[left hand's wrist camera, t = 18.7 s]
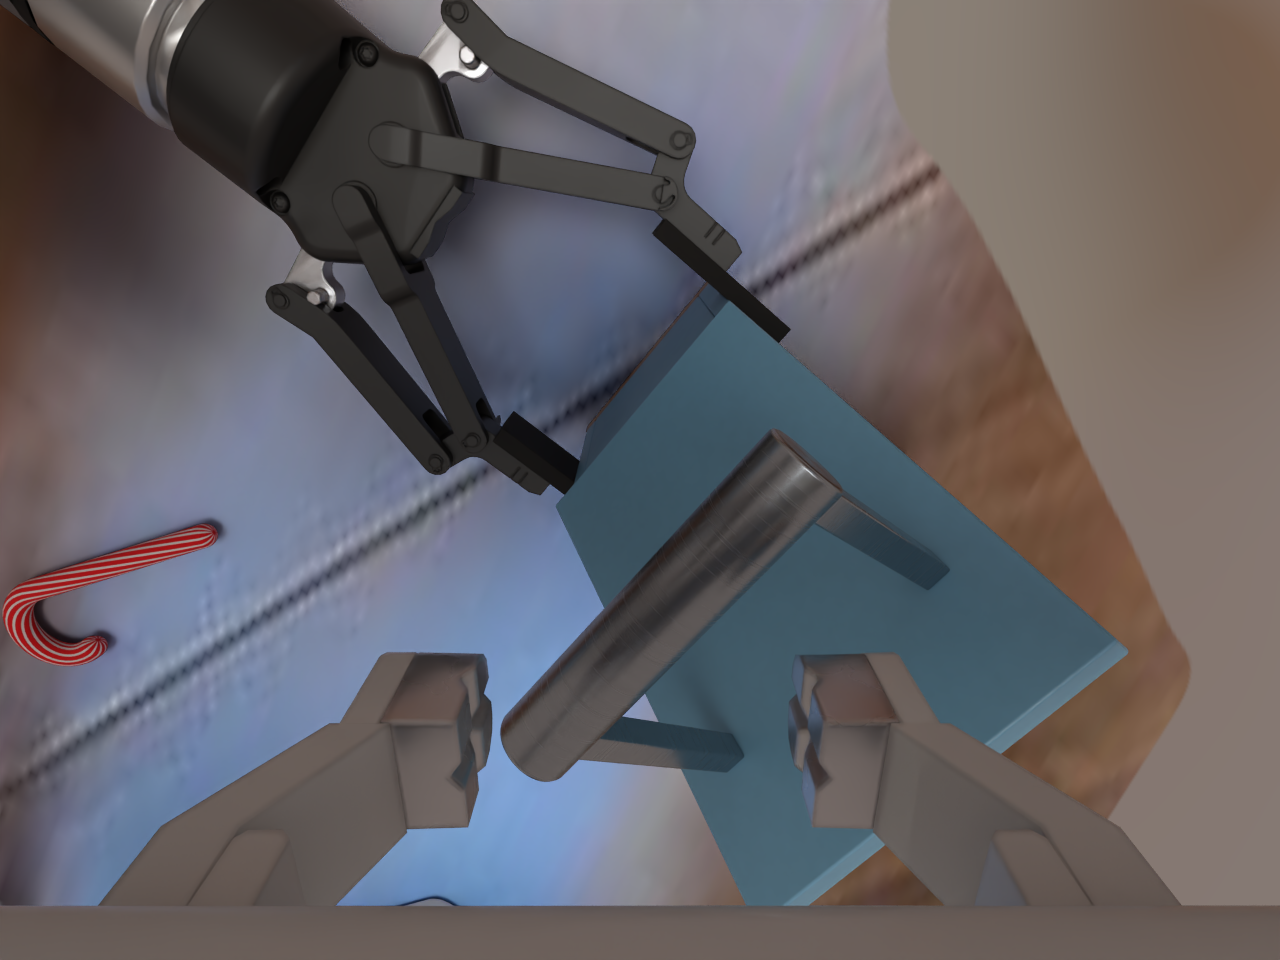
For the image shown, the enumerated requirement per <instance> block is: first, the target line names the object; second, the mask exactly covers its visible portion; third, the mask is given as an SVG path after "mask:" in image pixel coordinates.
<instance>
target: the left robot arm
mask: <svg viewBox="0 0 1280 960" xmlns="http://www.w3.org/2000/svg"><path fill="white" fill-rule="evenodd" d="M488 678H489V675H488V668H487V660H486V658H485V656H484V654H467V653H416V652H387V653H385V654H383V655H381V656H380V657H379V658H378V660H377V662H376V663H375V665H374V667H373V668H372V670H371V672H370V673H369V675H368V677H367V678H366V680H365V682H364V683H363V685H362V687H361V688H360V690H359V692H358V693H357V695H356V697H355V698H354V700H353V702H352V703H351V705H350V707H349V708H348V710H347V712H346V713H345V715H344V717H343V718H342V720H341V722H340V723H329V724H328V725H326V726H324V727H323V728H321V729H320V730H318V731H316V732H315V733H313V734H311V735H310V736H308V737H306V738H305V739H303V740H302V741H300V742H298V743H297V744H295V745H293V746H292V747H290V748H288V749H287V750H285V751H283V752H282V753H280V754H279V755H277V756H275V757H274V758H272V759H270V760H269V761H267V762H265V763H264V764H262V765H261V766H259V767H257V768H256V769H254V770H252V771H251V772H249V773H247V774H246V775H244V776H243V777H241V778H239V779H238V780H236V781H234V782H233V783H231V784H229V785H228V786H226V787H225V788H223V789H221V790H220V791H218V792H216V793H215V794H213V795H211V796H210V797H208V798H206V799H205V800H203V801H202V802H200V803H198V804H197V805H195V806H193V807H192V808H190V809H188V810H187V811H185V812H184V813H182V814H180V815H179V816H177V817H175V818H174V819H172V820H170V821H169V822H167V823H166V824H164V825H162V826H161V827H160V828H159V829H158V831H157V832H156V833H155V834H154V836H153V837H152V838H151V839H150V841H149V842H148V843H147V845H146V846H145V847H144V848H143V850H142V851H141V852H140V853H139V855H138V856H137V857H136V858H135V860H134V861H133V862H132V863H131V865H130V866H129V867H128V869H127V870H126V871H125V872H124V874H123V875H122V876H121V877H120V879H119V880H118V881H117V882H116V884H115V885H114V886H113V887H112V889H111V890H110V891H109V892H108V894H107V895H106V896H105V898H104V899H103V900H102V901H101V903H100V904H99V905H98V906H0V960H1280V906H1182V905H1181V904H1180V903H1179V901H1178V900H1177V899H1176V898H1175V896H1174V895H1173V894H1172V892H1171V891H1170V890H1169V889H1168V887H1167V886H1166V885H1165V884H1164V882H1163V881H1162V880H1161V878H1160V877H1159V876H1158V875H1157V873H1156V872H1155V871H1154V870H1153V868H1152V867H1151V866H1150V864H1149V863H1148V862H1147V861H1146V859H1145V858H1144V857H1143V856H1142V854H1141V853H1140V852H1139V851H1138V849H1137V848H1136V847H1135V845H1134V844H1133V843H1132V842H1131V840H1130V839H1129V838H1128V837H1127V835H1126V834H1125V833H1124V831H1123V830H1122V829H1121V828H1120V827H1119V826H1117V825H1116V824H1114V823H1112V822H1111V821H1109V820H1107V819H1106V818H1104V817H1102V816H1101V815H1099V814H1098V813H1096V812H1094V811H1093V810H1091V809H1089V808H1088V807H1086V806H1085V805H1083V804H1081V803H1080V802H1078V801H1076V800H1075V799H1073V798H1071V797H1070V796H1068V795H1067V794H1065V793H1063V792H1062V791H1060V790H1058V789H1057V788H1055V787H1054V786H1052V785H1050V784H1049V783H1047V782H1045V781H1044V780H1042V779H1040V778H1039V777H1037V776H1036V775H1034V774H1032V773H1031V772H1029V771H1027V770H1026V769H1024V768H1022V767H1021V766H1019V765H1018V764H1016V763H1014V762H1013V761H1011V760H1009V759H1008V758H1006V757H1005V756H1003V755H1001V754H1000V753H998V752H996V751H995V750H993V749H991V748H990V747H988V746H987V745H985V744H983V743H982V742H980V741H978V740H977V739H975V738H973V737H972V736H970V735H969V734H967V733H965V732H964V731H962V730H960V729H959V728H957V727H956V726H954V725H952V724H951V723H940V722H939V720H938V719H937V717H936V715H935V714H934V712H933V710H932V709H931V707H930V705H929V704H928V702H927V700H926V699H925V697H924V696H923V694H922V692H921V691H920V689H919V687H918V686H917V684H916V682H915V681H914V679H913V677H912V676H911V674H910V672H909V671H908V669H907V667H906V666H905V664H904V663H903V661H902V659H901V658H900V656H899V655H898V654H896V653H895V652H876V653H861V654H806V655H795V657H794V661H793V666H792V675H791V678H792V681H793V684H794V688H795V691H796V695H795V696H794V697H793V698H792V699H791V700H790V701H789V708H788V739H789V744H790V750H791V755H792V759H793V762H794V766H795V767H796V768H798V769H799V770H800V771H801V772H802V773H803V776H802V786H801V791H802V794H803V798H804V801H805V805H806V808H807V811H808V815H809V818H810V822H811V825H812V827H817V828H852V829H873V833H874V834H875V835H876V836H877V837H878V838H879V839H880V840H881V841H882V842H883V843H884V844H885V845H886V846H887V847H888V848H889V849H890V850H891V851H892V852H893V853H894V854H895V855H896V856H897V857H898V858H899V859H900V860H901V861H902V862H903V863H904V864H905V865H906V866H907V867H908V868H909V869H910V870H911V871H912V872H913V873H914V875H915V876H916V877H917V878H918V879H919V880H920V881H921V882H922V883H923V884H924V885H925V886H926V887H927V888H928V889H929V890H930V891H931V892H932V893H933V894H934V895H935V896H936V897H937V898H938V899H939V900H940V901H941V902H942V903H943V904H944V905H945V906H453V905H452V904H450V903H448V902H446V901H444V900H440V899H428V900H424V901H420V902H416V903H413V904H409V905H405V906H335V905H336V904H337V903H338V902H339V901H340V900H341V899H342V898H343V897H344V896H345V895H346V894H347V893H348V892H349V891H350V890H351V889H352V888H353V887H354V886H355V885H356V884H357V883H358V882H359V881H360V880H361V879H362V878H363V877H364V876H365V875H366V874H367V873H368V872H369V871H370V870H371V869H372V868H373V867H374V866H375V865H376V864H377V863H378V862H379V861H380V860H381V859H382V858H383V857H384V856H385V854H386V853H387V852H388V851H389V850H390V849H391V848H392V847H393V846H394V845H395V844H396V843H397V842H398V841H399V840H400V839H401V838H402V837H403V836H404V835H405V834H406V833H407V829H427V828H461V827H468V826H469V822H470V819H471V815H472V812H473V808H474V805H475V801H476V798H477V794H478V791H479V786H478V776H477V773H478V772H479V771H480V770H481V769H482V768H484V767H485V766H486V762H487V758H488V755H489V751H490V743H491V736H492V707H491V701H490V700H489V699H488V698H487V697H486V696H485V695H484V691H485V688H486V684H487V681H488Z"/></svg>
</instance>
